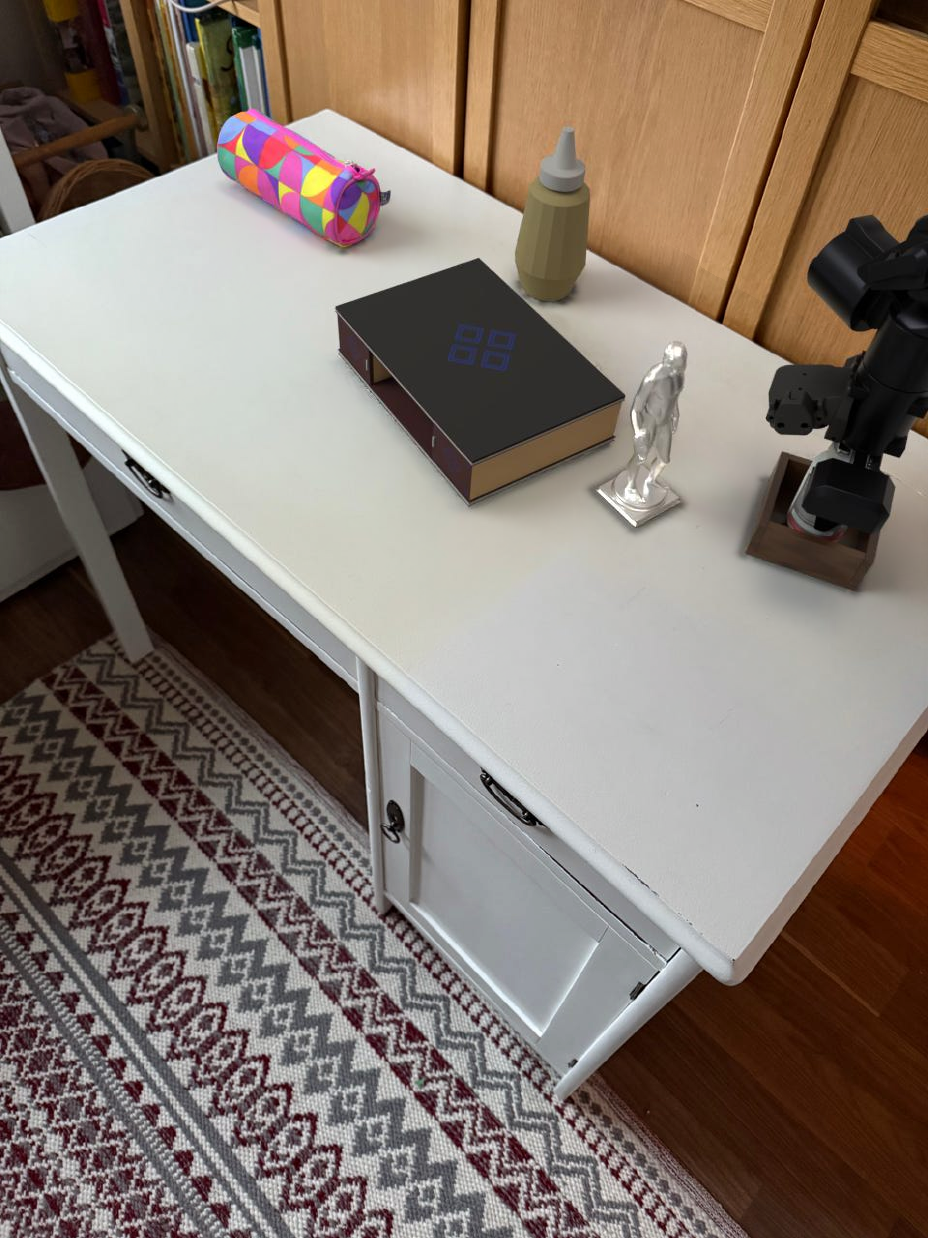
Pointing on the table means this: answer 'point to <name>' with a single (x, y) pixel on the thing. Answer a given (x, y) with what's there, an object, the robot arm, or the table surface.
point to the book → (477, 378)
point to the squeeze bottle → (554, 225)
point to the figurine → (650, 441)
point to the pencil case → (300, 178)
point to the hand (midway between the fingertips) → (825, 507)
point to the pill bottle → (806, 521)
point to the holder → (800, 549)
